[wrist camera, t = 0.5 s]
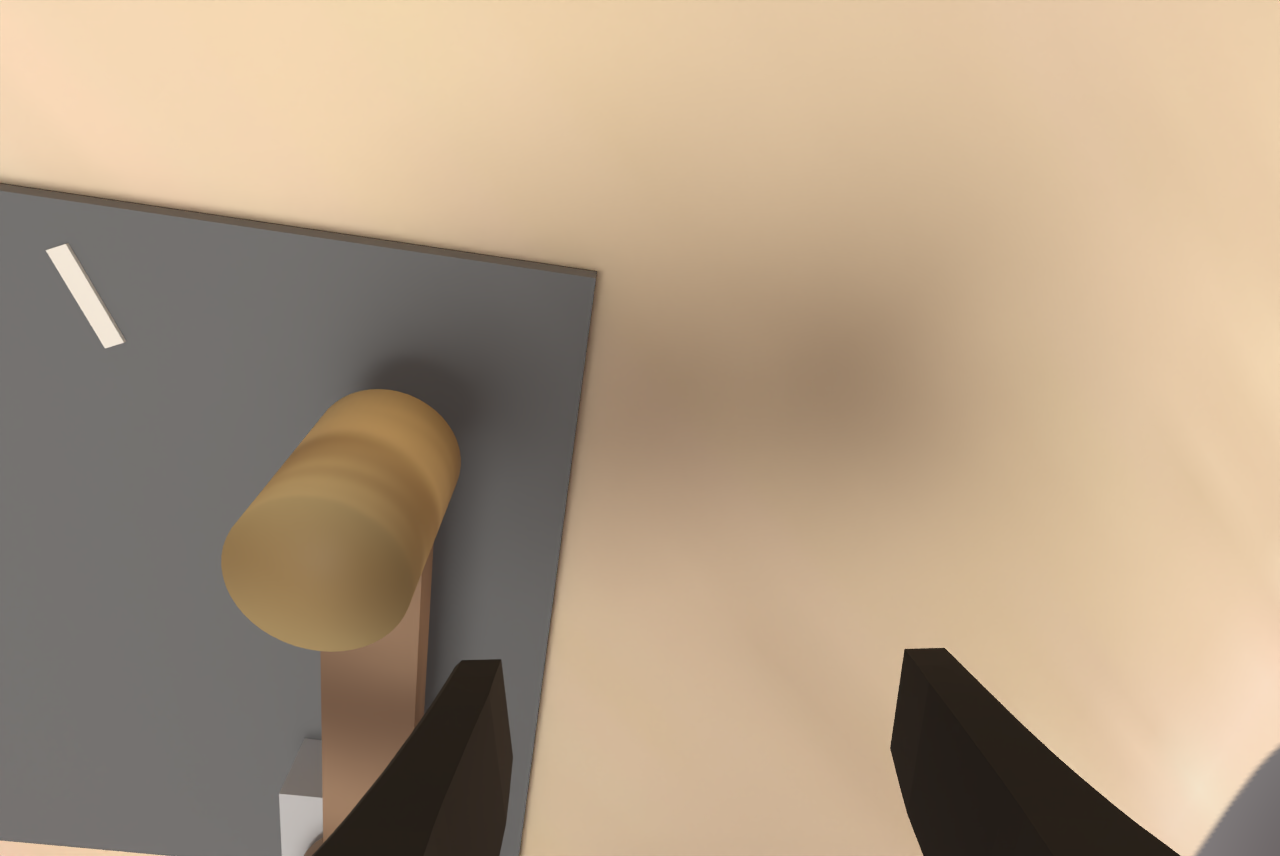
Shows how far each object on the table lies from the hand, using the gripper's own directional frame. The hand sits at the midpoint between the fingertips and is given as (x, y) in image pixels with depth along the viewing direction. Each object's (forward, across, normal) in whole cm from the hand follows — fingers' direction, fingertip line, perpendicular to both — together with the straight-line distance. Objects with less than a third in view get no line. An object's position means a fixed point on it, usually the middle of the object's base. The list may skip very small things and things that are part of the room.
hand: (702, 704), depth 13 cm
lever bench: (+9, +13, +4) cm, 17 cm away
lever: (+6, +8, +6) cm, 12 cm away
